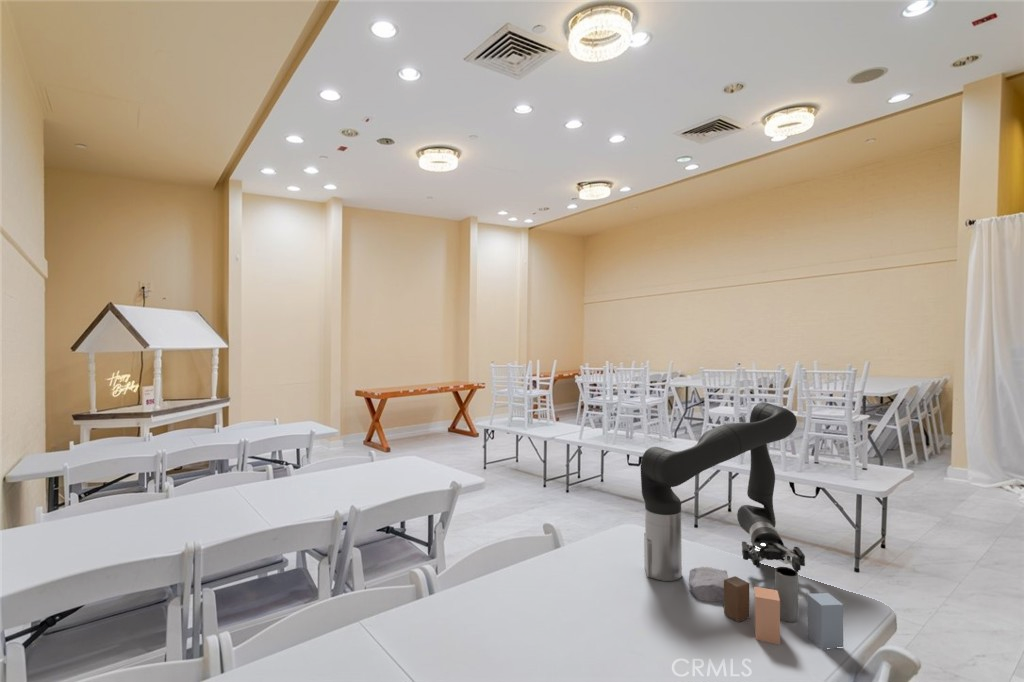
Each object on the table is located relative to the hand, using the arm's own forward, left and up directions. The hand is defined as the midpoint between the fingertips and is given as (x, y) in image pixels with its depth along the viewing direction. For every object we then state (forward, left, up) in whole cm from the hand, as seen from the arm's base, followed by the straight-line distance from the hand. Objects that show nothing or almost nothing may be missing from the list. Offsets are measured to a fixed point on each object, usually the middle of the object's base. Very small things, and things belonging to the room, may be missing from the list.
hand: (777, 566), depth 124 cm
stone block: (-16, 0, -7) cm, 18 cm away
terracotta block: (-9, -19, -6) cm, 22 cm away
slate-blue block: (+2, -20, -6) cm, 21 cm away
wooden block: (-13, -12, -7) cm, 19 cm away
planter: (-2, -11, -7) cm, 13 cm away
